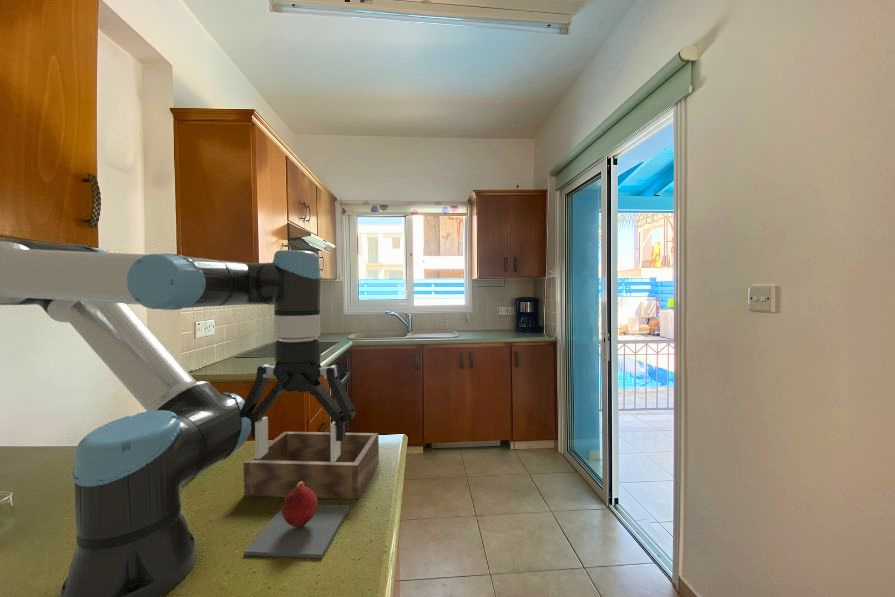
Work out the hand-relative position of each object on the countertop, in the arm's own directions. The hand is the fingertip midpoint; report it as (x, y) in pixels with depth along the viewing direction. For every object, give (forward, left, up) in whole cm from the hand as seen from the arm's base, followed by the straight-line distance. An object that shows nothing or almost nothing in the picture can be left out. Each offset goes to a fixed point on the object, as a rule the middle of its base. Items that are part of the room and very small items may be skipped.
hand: (298, 457), depth 64 cm
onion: (0, 0, -13) cm, 13 cm away
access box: (-5, +18, -13) cm, 23 cm away
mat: (0, 0, -13) cm, 13 cm away
